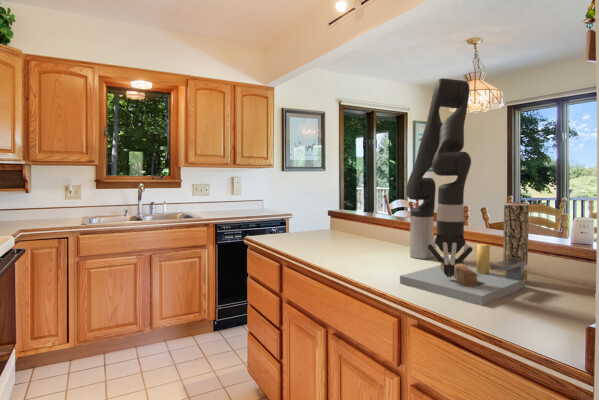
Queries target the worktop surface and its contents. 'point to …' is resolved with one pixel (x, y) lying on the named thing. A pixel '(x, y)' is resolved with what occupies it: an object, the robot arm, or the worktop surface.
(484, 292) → the board
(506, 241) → the brown bark-textured cylinder
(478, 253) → the pin
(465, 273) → the link
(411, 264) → the worktop surface
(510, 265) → the keeper
